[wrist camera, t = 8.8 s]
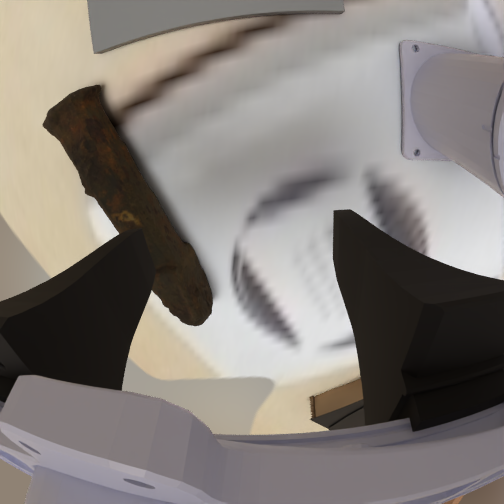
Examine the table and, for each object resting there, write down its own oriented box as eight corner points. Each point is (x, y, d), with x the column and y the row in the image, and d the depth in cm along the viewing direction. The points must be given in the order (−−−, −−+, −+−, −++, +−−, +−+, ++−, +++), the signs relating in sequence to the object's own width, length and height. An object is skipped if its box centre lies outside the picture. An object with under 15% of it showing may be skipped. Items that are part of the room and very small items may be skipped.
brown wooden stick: (65, 110, 17) (24, 125, 13) (105, 79, 16) (65, 87, 12) (185, 304, 27) (172, 344, 23) (225, 293, 25) (218, 335, 22)
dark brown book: (564, 272, 18) (549, 362, 28) (544, 249, 21) (539, 344, 31) (309, 422, 31) (381, 455, 41) (306, 392, 34) (377, 435, 44)
